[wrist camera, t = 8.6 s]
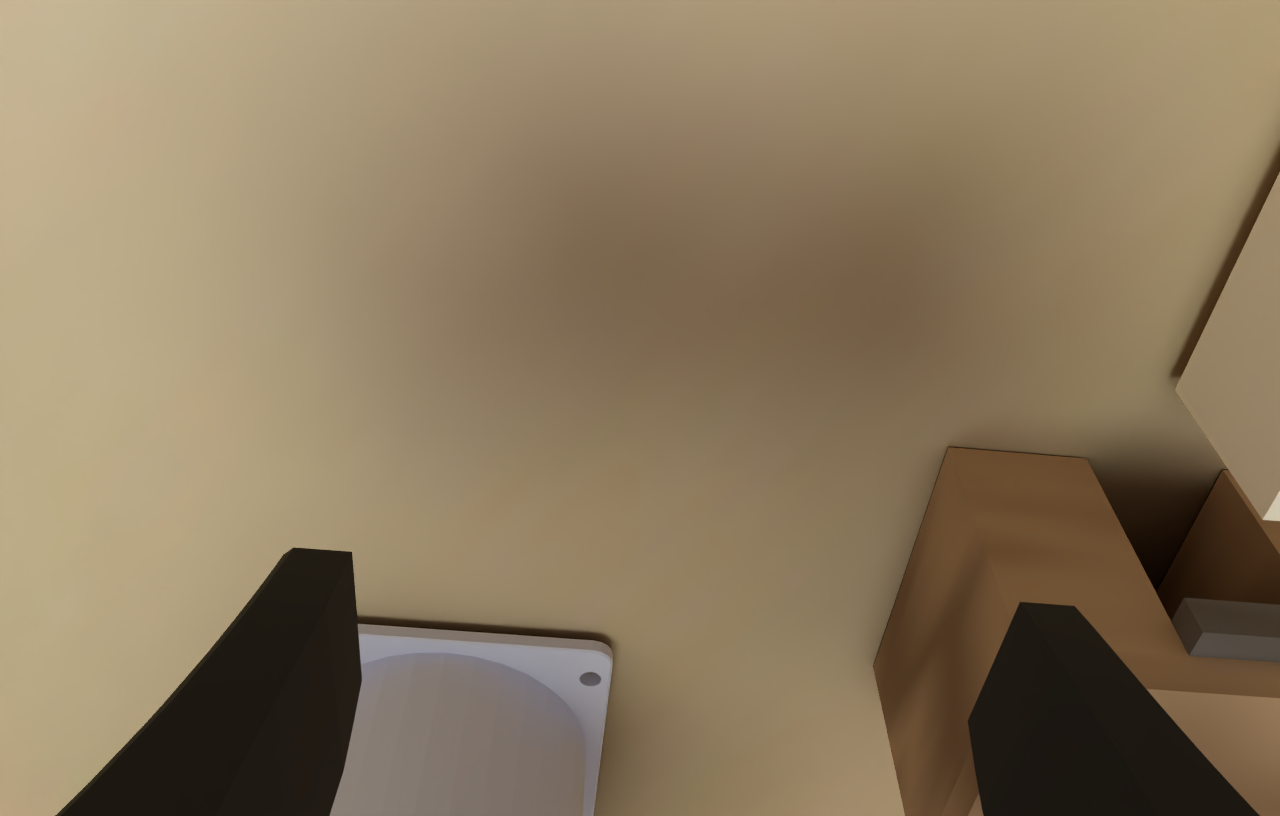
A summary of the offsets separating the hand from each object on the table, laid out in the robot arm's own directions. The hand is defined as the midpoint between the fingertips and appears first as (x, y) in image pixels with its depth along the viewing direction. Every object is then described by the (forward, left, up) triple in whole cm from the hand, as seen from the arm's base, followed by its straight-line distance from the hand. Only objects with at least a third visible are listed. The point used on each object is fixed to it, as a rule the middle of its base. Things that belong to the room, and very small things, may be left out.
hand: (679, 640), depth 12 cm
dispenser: (-8, -11, -10) cm, 17 cm away
